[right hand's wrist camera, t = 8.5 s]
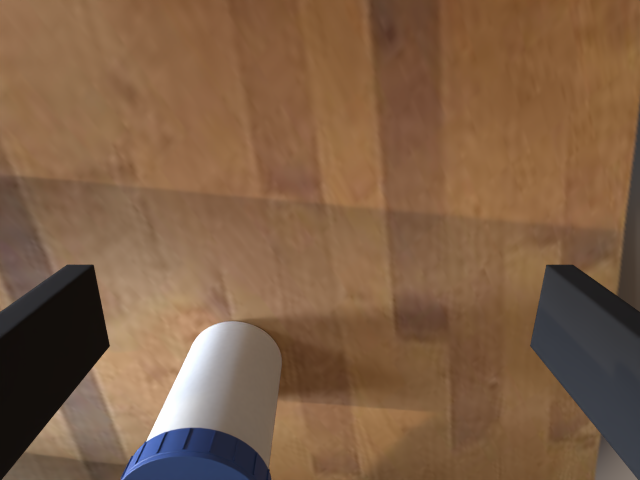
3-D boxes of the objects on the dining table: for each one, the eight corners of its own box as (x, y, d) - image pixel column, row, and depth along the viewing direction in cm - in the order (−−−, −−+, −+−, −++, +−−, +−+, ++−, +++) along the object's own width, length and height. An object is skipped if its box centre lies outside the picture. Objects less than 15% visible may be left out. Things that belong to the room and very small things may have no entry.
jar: (171, 355, 41) (92, 501, 27) (237, 303, 39) (192, 431, 25) (234, 412, 43) (194, 573, 29) (300, 365, 41) (291, 514, 27)
